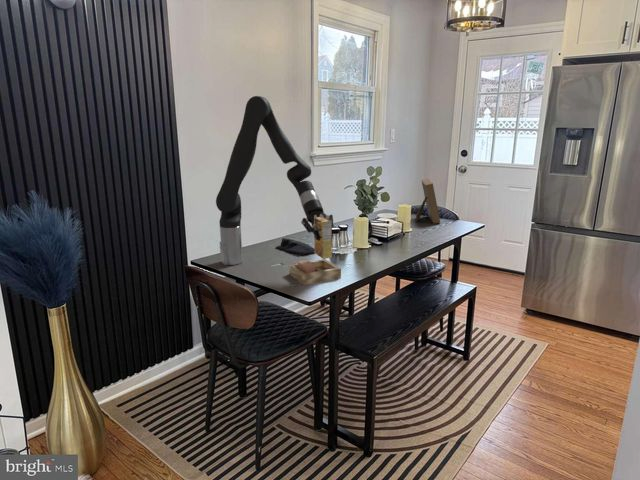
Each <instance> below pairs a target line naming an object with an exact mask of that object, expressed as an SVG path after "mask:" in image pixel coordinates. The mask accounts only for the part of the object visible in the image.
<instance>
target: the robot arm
mask: <svg viewBox="0 0 640 480" xmlns="http://www.w3.org/2000/svg"><path fill="white" fill-rule="evenodd" d="M261 126H262V127H263V129H264V130H265V131H266V134H267V136H268V138H269V139H270V142H271V144H272V146H273V148H274V150H275V152H276V154H277V155H278V157H279V159H280V160H281V162H282V163H283V164H290V163H296V165H294V166H292V167H290V168H289V169H288V170H287V172H286V177H287V179H288V181H289V182H290V183H291V184H292V185H293V186H294V188H295V189H296V192H297V194H298V197H299V200H300V203H301V207H302V209H303V212H304V214H305V217H303V218H302V220H301V222H300V223H301V224H302V225H303V227H304V228H305V230H306V231H307V232H308V233H312V234H313V235H314V236H315V238H316V240H317V241H320V239H321V237H320V234H319V232H318V230H317V224H316V221H315V218H317V217H324V218H326V219H328V220H331V221H332V228H333V227H334V216H333V214H326V213H325V212H324V208H323V206H322V203H321V200H320V198H319V195H318V194H317V192H316V190H315V187H314V186H313V185H314V184H313V183H312V181H310V180H306V179H307V178H310V176H311V175H312V169H311V166H310V165H309V164H308V163H307V162H306V161H305V160H304V159H303V158H301V156H300V155H299V154H298V153H297V152H296V150H295V149H294V147H293V145H292V144H291V141H290V140H289V138H288V137H287V136H286V134H285V132H284V131H283V130H282V129H283V128H281V126H280V124H279V122H278V121H277V118H276V116H275V113H274V111H273V108H272V106H271V104H270V102H269V100H268V99H267V98H266V97H263V96H259V95H255V96H252V97H250V98H249V99H248V101H247V102H246V104H245V109H244V115H243V119H242V123H241V128H240V130H239V132H238V134H237V138H236V139H235V142H234V146H233V149H232V152H231V154H230V158H229V161H228V164H227V168H226V173H225V176H224V179H223V182H222V184H221V187H220V189H219V192H218V194H217V195H216V199H215V205H216V207H217V209H218V210H219V211H220V212H221V213H220V214H221V215H220V219H219V235H220V241H219V250H220V251H219V253H220V262H221V263H222V265H224V266H234V265H240V264H241V263H243V257H244V256H243V245H242V228H241V226H242V225H241V221H242V199H241V196H240V194H239V190H240V188H241V185H242V182H243V181H244V179H245V178H246V176H247V174H248V173H249V170H250V168H251V166H252V164H253V160H254V158H255V154H256V151H257V142H258V135H259V131H260V129H261ZM314 236H313V237H314Z"/></svg>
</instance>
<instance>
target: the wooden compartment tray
mask: <svg viewBox="0 0 640 480" xmlns="http://www.w3.org/2000/svg"><path fill="white" fill-rule="evenodd" d="M309 262H311V263H312V264H314V265H315V272H310V273H304V272H303V271H301V270H300V269H299V268H298V263H293V264H289V265H288V266H289V267H288V270H289V275H290V276H291V277H292V278H294V279H295V280H296V281H298V282H299V283H301V284H302V285H303V286H306V285H311V284H316V283H321V282H328V281H333V280H337V279H341V278H342V268H341V267H339V266H338V265H336V264H334V263H333V262H331V261H329V260H328V259H327V258H326V259H322V258H321V259H317V260H311V261H309Z"/></svg>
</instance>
